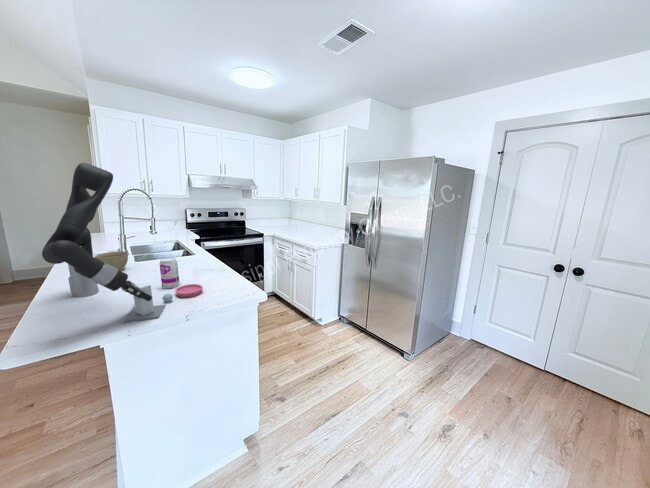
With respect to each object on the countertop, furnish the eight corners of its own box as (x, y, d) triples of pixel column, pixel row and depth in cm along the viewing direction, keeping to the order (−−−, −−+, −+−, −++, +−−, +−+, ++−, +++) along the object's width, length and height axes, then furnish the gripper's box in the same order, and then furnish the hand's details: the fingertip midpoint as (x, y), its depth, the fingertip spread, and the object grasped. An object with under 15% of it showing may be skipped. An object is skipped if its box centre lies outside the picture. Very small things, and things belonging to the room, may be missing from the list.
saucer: (201, 297, 129) (200, 291, 128) (172, 300, 125) (172, 293, 125) (204, 288, 140) (204, 282, 140) (178, 290, 137) (178, 284, 136)
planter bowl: (124, 265, 177) (122, 250, 174) (134, 270, 167) (131, 254, 165) (94, 271, 164) (91, 254, 162) (102, 276, 155) (99, 259, 152)
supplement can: (171, 289, 138) (168, 262, 134) (158, 288, 139) (155, 260, 136) (182, 284, 145) (180, 258, 142) (170, 283, 147) (167, 257, 144)
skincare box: (154, 311, 111) (151, 284, 109) (143, 315, 107) (140, 288, 105) (145, 308, 114) (142, 282, 111) (135, 312, 110) (131, 285, 107)
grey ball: (162, 303, 120) (161, 295, 120) (164, 300, 124) (163, 292, 123) (171, 302, 122) (171, 294, 121) (173, 299, 125) (172, 291, 125)
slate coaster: (123, 322, 103) (123, 320, 103) (134, 309, 114) (133, 307, 114) (158, 318, 107) (158, 316, 107) (165, 306, 118) (165, 304, 118)
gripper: (121, 272, 96) (159, 293, 107) (112, 264, 105) (148, 284, 116) (105, 290, 93) (146, 309, 104) (97, 280, 102) (135, 299, 113)
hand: (147, 296), depth 110 cm, fingers open, 8 cm apart
